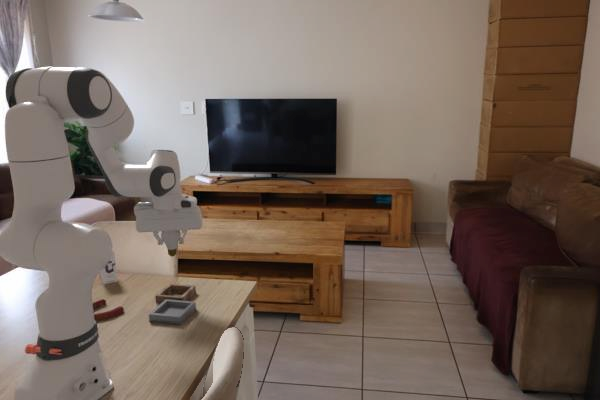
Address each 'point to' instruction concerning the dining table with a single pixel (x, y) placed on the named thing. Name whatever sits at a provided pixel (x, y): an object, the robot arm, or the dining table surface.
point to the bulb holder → (185, 289)
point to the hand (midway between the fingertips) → (171, 243)
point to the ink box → (109, 271)
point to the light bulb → (171, 240)
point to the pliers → (106, 314)
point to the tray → (172, 312)
